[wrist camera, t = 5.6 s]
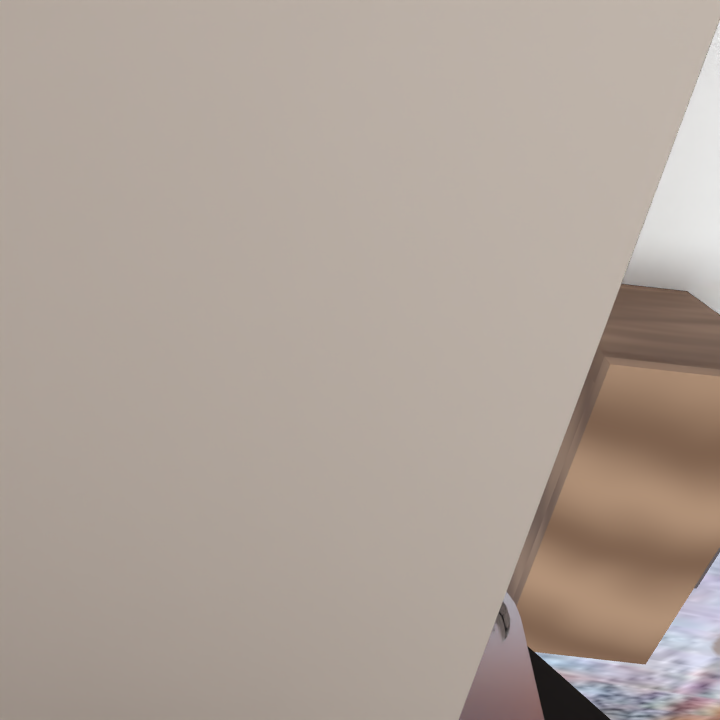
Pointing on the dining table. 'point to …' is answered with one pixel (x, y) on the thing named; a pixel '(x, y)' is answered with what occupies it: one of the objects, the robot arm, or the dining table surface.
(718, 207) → the dining table surface
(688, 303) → the cabinet body
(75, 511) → the cabinet door
